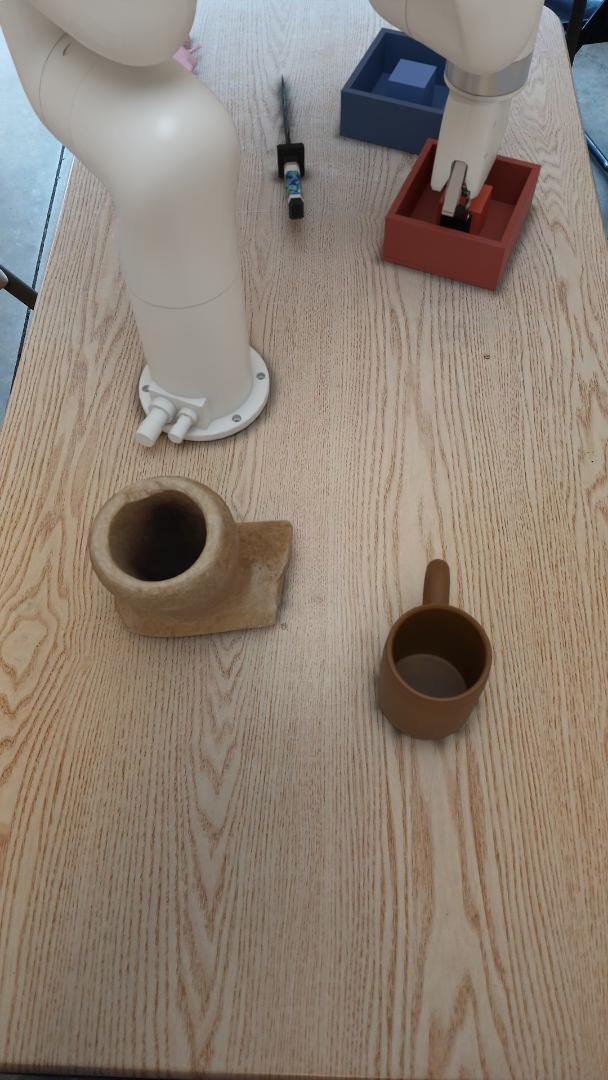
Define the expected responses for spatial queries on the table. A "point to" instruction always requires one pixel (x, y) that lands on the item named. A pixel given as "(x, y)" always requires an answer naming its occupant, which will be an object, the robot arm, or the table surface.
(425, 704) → the mug
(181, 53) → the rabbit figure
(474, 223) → the red block
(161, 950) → the table surface
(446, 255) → the red bin
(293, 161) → the knife
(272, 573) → the stone cup
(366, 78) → the blue bin
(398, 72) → the blue block
